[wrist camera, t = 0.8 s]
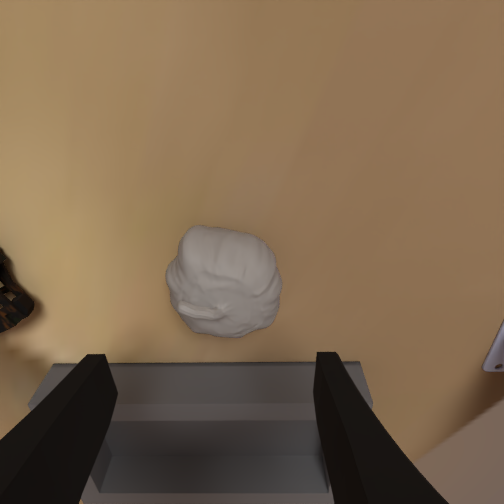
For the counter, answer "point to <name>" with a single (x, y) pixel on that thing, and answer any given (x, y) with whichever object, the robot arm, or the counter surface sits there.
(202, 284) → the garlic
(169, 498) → the tray
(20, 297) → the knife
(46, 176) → the counter surface
